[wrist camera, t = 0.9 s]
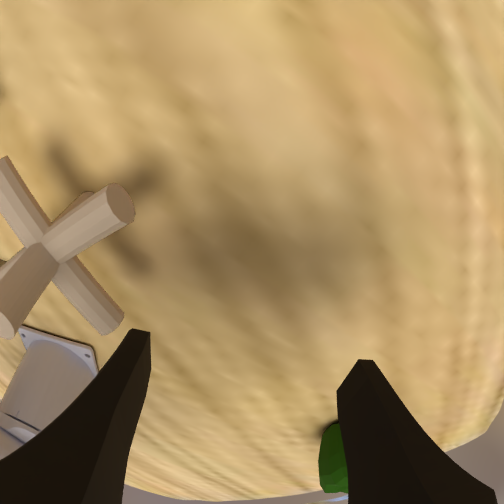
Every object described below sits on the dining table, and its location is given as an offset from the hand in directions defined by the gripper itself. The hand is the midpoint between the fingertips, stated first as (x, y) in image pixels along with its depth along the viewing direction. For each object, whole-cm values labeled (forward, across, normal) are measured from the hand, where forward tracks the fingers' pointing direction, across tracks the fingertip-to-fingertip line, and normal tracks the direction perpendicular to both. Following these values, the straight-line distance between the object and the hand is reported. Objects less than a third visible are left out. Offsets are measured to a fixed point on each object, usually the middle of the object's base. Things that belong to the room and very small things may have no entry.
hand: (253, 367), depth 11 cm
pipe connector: (+10, +10, 0) cm, 14 cm away
